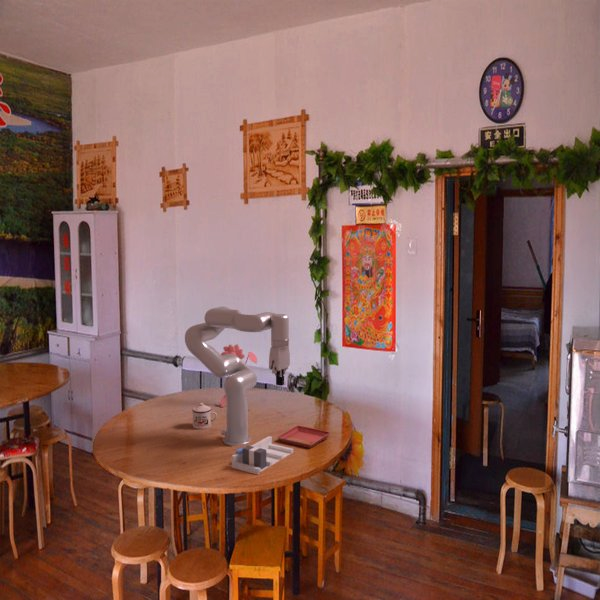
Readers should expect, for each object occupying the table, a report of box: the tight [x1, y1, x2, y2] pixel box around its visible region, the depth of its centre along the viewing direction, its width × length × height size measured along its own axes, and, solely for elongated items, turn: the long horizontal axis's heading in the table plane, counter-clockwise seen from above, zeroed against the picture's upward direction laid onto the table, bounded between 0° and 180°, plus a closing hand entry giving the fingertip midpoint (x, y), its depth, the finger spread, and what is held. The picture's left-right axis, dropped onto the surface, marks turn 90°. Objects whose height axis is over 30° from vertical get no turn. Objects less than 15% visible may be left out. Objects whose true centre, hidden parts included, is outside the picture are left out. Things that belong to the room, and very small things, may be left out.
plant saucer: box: [277, 425, 331, 449], centre depth 271 cm, size 18×18×3 cm
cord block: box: [242, 445, 266, 469], centre depth 240 cm, size 9×4×7 cm, turn 59°
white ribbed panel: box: [231, 435, 294, 475], centre depth 248 cm, size 13×26×6 cm, turn 148°
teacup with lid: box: [191, 402, 218, 430], centre depth 289 cm, size 12×9×12 cm
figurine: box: [220, 343, 258, 412], centre depth 315 cm, size 15×26×35 cm, turn 88°
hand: (280, 384), depth 256 cm, fingers closed
